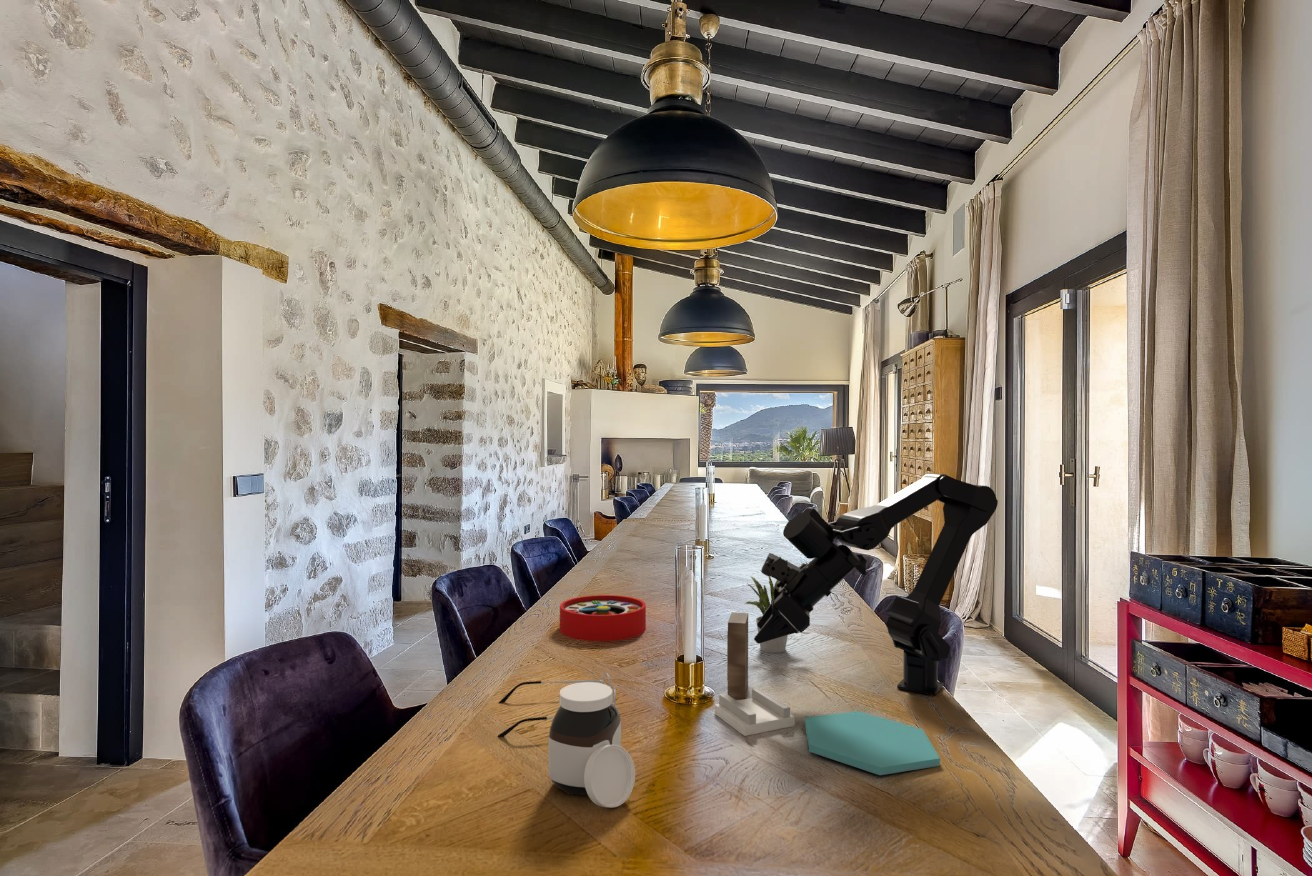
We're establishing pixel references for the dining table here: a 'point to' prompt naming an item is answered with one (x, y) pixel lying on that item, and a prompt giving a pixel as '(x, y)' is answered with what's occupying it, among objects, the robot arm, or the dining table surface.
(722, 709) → the display stand
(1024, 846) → the dining table surface
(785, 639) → the house plant
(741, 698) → the brown box
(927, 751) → the plaque
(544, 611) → the dining table surface
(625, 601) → the toy clock
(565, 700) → the spread jar
